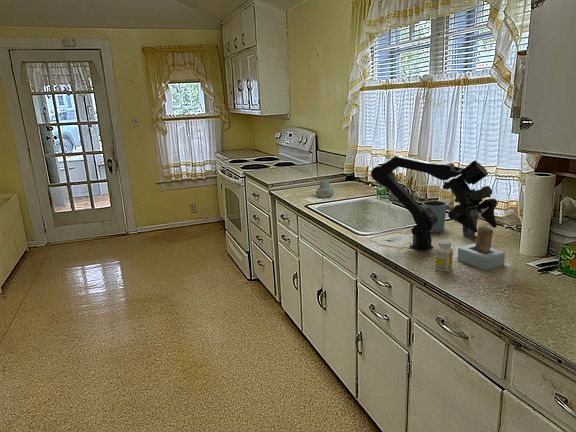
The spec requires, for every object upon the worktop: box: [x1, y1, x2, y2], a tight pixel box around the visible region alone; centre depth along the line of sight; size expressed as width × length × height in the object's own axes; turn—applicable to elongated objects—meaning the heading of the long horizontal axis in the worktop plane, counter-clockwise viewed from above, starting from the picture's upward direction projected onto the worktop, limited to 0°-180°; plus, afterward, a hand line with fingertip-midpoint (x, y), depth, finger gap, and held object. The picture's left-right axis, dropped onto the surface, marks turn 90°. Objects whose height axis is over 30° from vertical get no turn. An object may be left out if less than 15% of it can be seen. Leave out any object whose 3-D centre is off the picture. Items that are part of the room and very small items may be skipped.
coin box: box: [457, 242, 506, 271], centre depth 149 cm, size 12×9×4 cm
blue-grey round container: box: [422, 199, 448, 233], centre depth 187 cm, size 10×10×12 cm
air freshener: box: [315, 179, 335, 199], centre depth 260 cm, size 11×8×10 cm
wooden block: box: [475, 225, 494, 254], centre depth 147 cm, size 4×2×12 cm, turn 24°
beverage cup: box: [462, 187, 480, 238], centre depth 175 cm, size 7×7×20 cm
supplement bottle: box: [434, 239, 454, 272], centre depth 145 cm, size 5×5×10 cm
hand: (486, 229), depth 145 cm, fingers open, 9 cm apart
